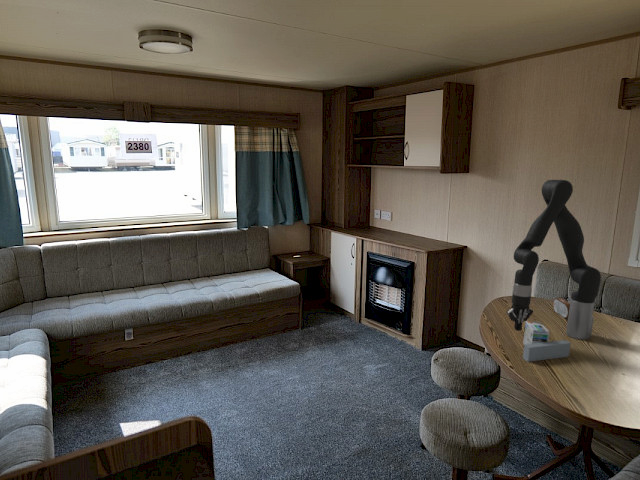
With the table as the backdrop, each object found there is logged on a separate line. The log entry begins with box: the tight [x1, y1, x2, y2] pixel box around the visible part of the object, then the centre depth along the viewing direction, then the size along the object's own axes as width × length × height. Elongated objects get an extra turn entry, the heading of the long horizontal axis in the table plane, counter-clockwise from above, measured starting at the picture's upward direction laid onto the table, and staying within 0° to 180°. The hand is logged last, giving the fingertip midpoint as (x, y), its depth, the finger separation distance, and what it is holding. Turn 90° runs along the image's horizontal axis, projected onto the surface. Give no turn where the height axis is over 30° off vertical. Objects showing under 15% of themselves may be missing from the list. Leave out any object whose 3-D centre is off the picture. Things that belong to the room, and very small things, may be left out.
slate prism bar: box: [522, 339, 571, 363], centre depth 176 cm, size 20×3×6 cm, turn 105°
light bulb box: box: [522, 320, 550, 346], centre depth 183 cm, size 11×7×11 cm, turn 172°
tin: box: [552, 297, 570, 320], centre depth 223 cm, size 15×3×8 cm, turn 179°
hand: (517, 330), depth 194 cm, fingers closed
